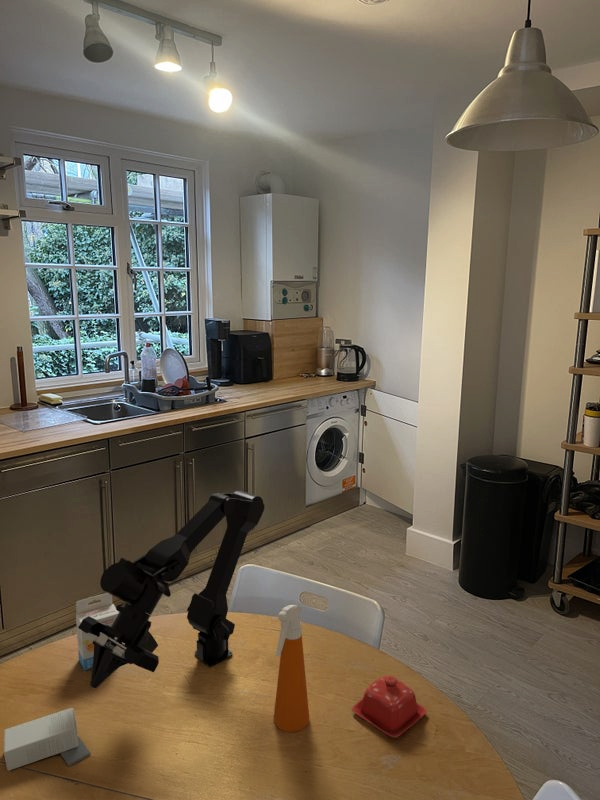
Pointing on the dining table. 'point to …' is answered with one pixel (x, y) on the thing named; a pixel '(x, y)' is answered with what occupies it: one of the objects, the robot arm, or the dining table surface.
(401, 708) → the butter dish
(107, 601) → the ink box
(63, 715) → the skincare box
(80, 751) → the flat gray block
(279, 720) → the spray bottle
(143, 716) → the dining table surface
